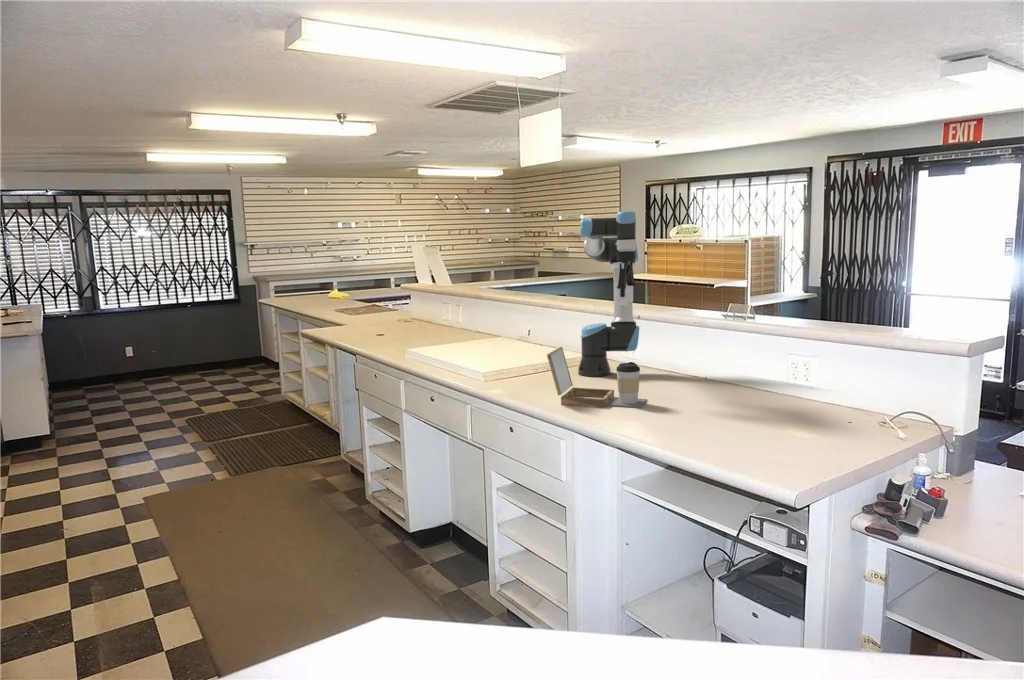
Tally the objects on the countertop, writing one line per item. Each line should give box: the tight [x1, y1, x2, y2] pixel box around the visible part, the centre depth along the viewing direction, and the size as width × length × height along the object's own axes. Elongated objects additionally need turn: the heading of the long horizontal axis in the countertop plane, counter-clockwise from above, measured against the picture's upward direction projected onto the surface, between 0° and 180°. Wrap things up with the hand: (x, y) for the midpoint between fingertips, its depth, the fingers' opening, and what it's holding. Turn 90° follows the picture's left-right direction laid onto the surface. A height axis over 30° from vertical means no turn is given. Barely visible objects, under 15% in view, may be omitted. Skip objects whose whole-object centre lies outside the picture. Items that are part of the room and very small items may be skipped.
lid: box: [546, 346, 573, 396], centre depth 263 cm, size 17×17×1 cm
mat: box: [609, 396, 648, 409], centre depth 255 cm, size 12×12×1 cm
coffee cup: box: [616, 361, 641, 404], centre depth 254 cm, size 9×9×15 cm
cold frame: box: [560, 387, 615, 408], centre depth 261 cm, size 17×17×3 cm
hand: (626, 303), depth 269 cm, fingers open, 13 cm apart
